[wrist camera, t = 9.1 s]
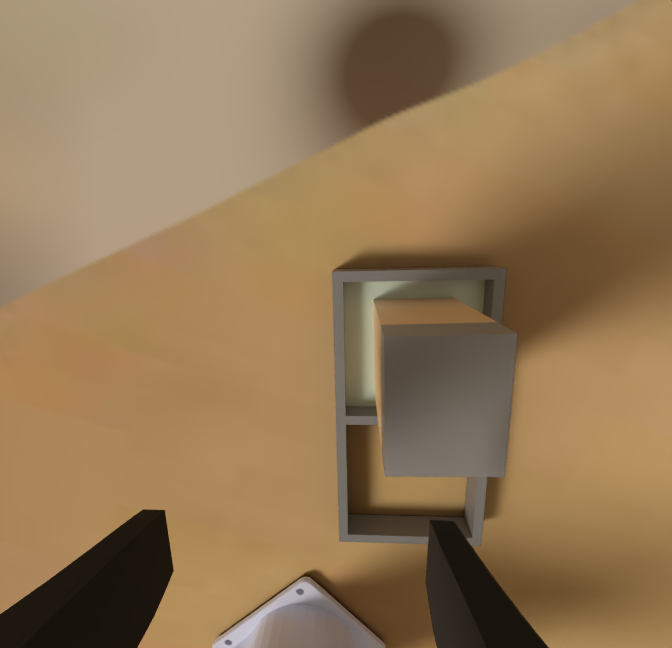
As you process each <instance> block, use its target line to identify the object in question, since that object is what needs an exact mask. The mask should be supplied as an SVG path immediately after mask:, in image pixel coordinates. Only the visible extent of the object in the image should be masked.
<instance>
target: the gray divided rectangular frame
mask: <svg viewBox="0 0 672 648" xmlns="http://www.w3.org/2000/svg"><path fill="white" fill-rule="evenodd" d="M506 270H507V268H502V267H496V266H474V267H424V268H374V269H334V270H333V271H332V280H333V318H334V356H335V394H336V432H337V470H338V507H339V542H372V543H405V544H428V539H429V523H430V520H444V521H454V522H455V523H456V524H457V525H458V527H459V528H460V530H461V531H462V533H463V534H464V536H465V537H466V539H467V540H468V542H469V543H470V545H471V546H481V539H482V529H483V518H484V507H485V496H486V486H487V477H467V487H466V500H465V513H464V517H439V516H399V515H359V514H348V461H347V425H379V424H378V416H377V408H376V400H375V392H374V329H373V299H406V298H442V297H454V298H455V299H457V300H459V301H461V302H462V303H464V304H466V305H468V306H470V307H471V308H473V309H475V310H477V311H478V312H480V313H482V314H484V315H486V316H487V317H489V318H491V319H493V320H494V321H496V322H498V323H500V324H502V313H503V303H504V292H505V281H506Z"/></svg>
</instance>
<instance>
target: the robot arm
mask: <svg viewBox="0 0 672 648" xmlns="http://www.w3.org/2000/svg"><path fill="white" fill-rule="evenodd" d="M173 571H174V570H173V563H172V557H171V550H170V543H169V536H168V529H167V523H166V516H165V510H144V509H143V510H142V511H141V512H139V513H138V514H136V515H135V516H133V517H132V518H131V519H129V520H128V521H127V522H125V523H124V524H123V525H121V526H120V527H119V528H117V529H116V530H115V531H113V532H112V533H111V534H109V535H108V536H107V537H105V538H104V539H103V540H102V541H100V542H99V543H98V544H96V545H95V546H94V547H92V548H91V549H90V550H88V551H87V552H86V553H84V554H83V555H82V556H80V557H79V558H78V559H76V560H75V561H74V562H72V563H71V564H70V565H68V566H67V567H66V568H64V569H63V570H62V571H60V572H59V573H58V574H56V575H55V576H54V577H52V578H51V579H50V580H48V581H47V582H45V583H44V584H42V585H41V586H40V587H38V588H37V589H35V590H34V591H33V592H31V593H30V594H28V595H27V596H26V597H24V598H23V599H21V600H20V601H18V602H17V603H16V604H14V605H13V606H11V607H10V608H9V609H7V610H6V611H4V612H3V613H2V614H0V648H137V647H138V645H139V643H140V642H141V640H142V638H143V636H144V634H145V632H146V630H147V629H148V627H149V625H150V623H151V621H152V619H153V617H154V615H155V613H156V611H157V608H158V606H159V604H160V602H161V599H162V597H163V595H164V593H165V590H166V588H167V585H168V583H169V580H170V578H171V576H172V573H173ZM426 587H427V594H428V601H429V607H430V613H431V619H432V626H433V632H434V636H435V640H436V644H437V648H549V647H548V646H547V645H546V644H545V643H544V641H543V640H542V639H541V638H540V637H539V635H538V634H537V633H536V632H535V630H534V629H533V628H532V627H531V625H530V624H529V623H528V622H527V620H526V619H525V618H524V617H523V615H522V614H521V613H520V612H519V610H518V609H517V608H516V606H515V605H514V604H513V602H512V601H511V600H510V598H509V597H508V596H507V595H506V593H505V592H504V591H503V589H502V588H501V587H500V585H499V584H498V583H497V581H496V580H495V579H494V577H493V576H492V575H491V573H490V572H489V570H488V569H487V568H486V566H485V565H484V563H483V562H482V561H481V559H480V558H479V556H478V555H477V553H476V552H475V551H474V549H473V548H472V546H471V545H470V543H469V542H468V540H467V539H466V537H465V536H464V534H463V533H462V531H461V530H460V528H459V527H458V525H457V524H456V523H455V522H454V521H444V520H430V523H429V539H428V555H427V570H426ZM212 648H386V646H385V644H384V642H382V641H381V640H380V639H379V638H378V637H377V636H376V635H375V634H373V633H372V632H371V631H370V630H369V629H368V628H367V627H366V626H364V625H363V624H362V623H361V622H360V621H359V620H358V619H357V618H355V617H354V616H353V615H352V614H351V613H350V612H349V611H348V610H346V609H345V608H344V607H343V606H342V605H341V604H340V603H339V602H337V601H336V600H335V599H334V598H333V597H332V596H331V595H329V594H328V593H327V592H326V591H325V590H324V589H323V588H322V587H320V586H319V585H318V584H317V583H316V582H315V581H314V580H313V579H311V578H310V577H302V578H300V579H299V580H298V581H296V582H295V583H293V584H292V585H291V586H289V587H288V588H286V589H285V590H284V591H282V592H281V593H279V594H278V595H277V596H275V597H274V598H273V599H271V600H270V601H268V602H267V603H266V604H264V605H263V606H261V607H260V608H259V609H257V610H256V611H254V612H253V613H252V614H250V615H249V616H247V617H246V618H245V619H243V620H242V621H240V622H239V623H238V624H236V625H235V626H233V627H232V628H231V629H229V630H228V631H227V632H225V633H224V634H222V635H221V636H220V637H218V638H217V639H215V641H214V643H213V646H212Z"/></svg>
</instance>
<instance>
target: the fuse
mask: <svg viewBox="0 0 672 648" xmlns="http://www.w3.org/2000/svg"><path fill="white" fill-rule="evenodd" d="M373 329H374V392H375V400H376V408H377V416H378V424H379V433H380V441H381V449H382V457H383V465H384V473H385V477H505V469H506V458H507V447H508V436H509V425H510V414H511V403H512V392H513V381H514V369H515V358H516V347H517V336H518V333H516V332H514V331H512V330H510V329H509V328H507V327H505V326H503V325H502V324H500V323H498V322H496V321H494V320H493V319H491V318H489V317H487V316H486V315H484V314H482V313H480V312H478V311H477V310H475V309H473V308H471V307H470V306H468V305H466V304H464V303H462V302H461V301H459V300H457V299H455V298H454V297H442V298H406V299H373Z"/></svg>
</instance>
